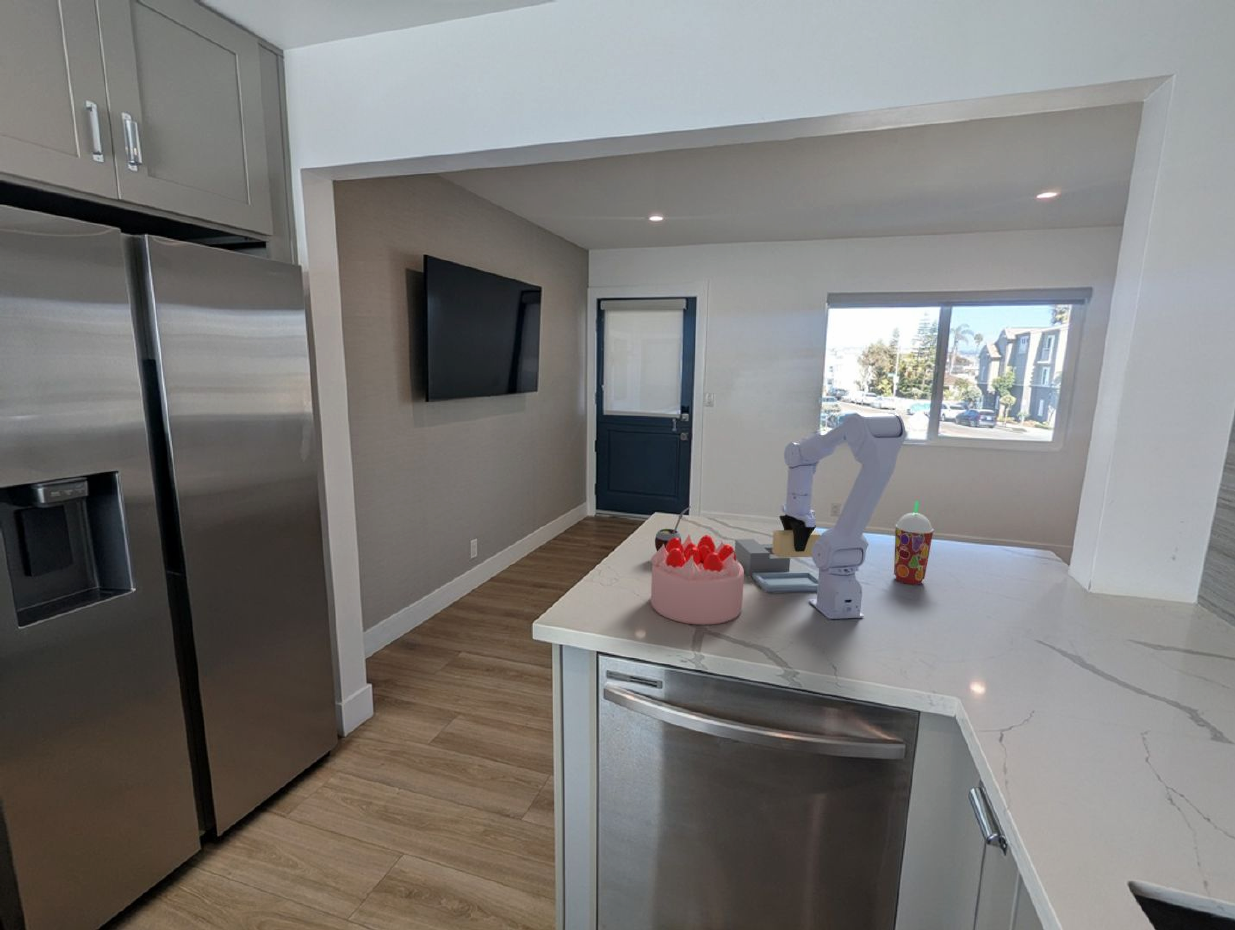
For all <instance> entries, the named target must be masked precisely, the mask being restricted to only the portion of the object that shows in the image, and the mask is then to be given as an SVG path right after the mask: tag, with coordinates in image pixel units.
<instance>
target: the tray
mask: <svg viewBox="0 0 1235 930" xmlns="http://www.w3.org/2000/svg"><path fill="white" fill-rule="evenodd" d="M818 578H819V576H817V575H816V574H815V573H813V571H811V570H810V571H809V570H806V571H805V570H804V571H802V570H801V571H789V572H771V573H753V576H752V580H753V582H755V583H756V584H757V585H758V586H759V587H760V588H761V590H762V591H764V593H765V594H785V593H787V594H788V593H789V594H790V593H811V592H813V593H814V592H815V593H816V592H817V590H818Z"/></svg>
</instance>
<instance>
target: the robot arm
mask: <svg viewBox="0 0 1235 930" xmlns="http://www.w3.org/2000/svg"><path fill="white" fill-rule="evenodd" d="M812 433H813V434H812V435H810V436H809V437H804V438H802V439H801V441H800V442H791V441H790V442H789V443H788V444H787V445H786V446H785V448H784V453H783V458H784V463H785V465H787V469H788V470H787V484H786V499H785V503H782V504H781V513H784V515H779V520H780V522H781V524H782V527H783V530H793V535H794V548H795V551H796V552H801V551H804V550H805V548H806V545H807V542H808V539H809V537H810V535H811V533H812V532H813V530H814V531H815V529H816V527H817V524H816V522H817V521H816V518H815V517H814V515H815V514H816V510H813V509H812V499H813V485H814V484H813V483H814V482H813V481H814V475H816V473H817V467H818V465H819V463H820V461H821V460H822V459H823V460H824V459H826V458H827V457H829V456H831V455H833V454H835V451H836V448H837V446H840V445H843V444H844V443H847V445H848V446H849V447H848V448H849V449H850V451H851V453H852V456H853V457H854V460H855V461H857V462H858V463H860V464H861V467H860V470H859V472H858V474H857V476H856V479H855V481H854V483H853V485H852V488H851V490H850V492H849V494H848V496H847V498H846V501H845V503H844V505H843V507H842V510H841V511H840V513H839V516H838V518H837V520H836V522H835V525H833V526H832V527H831V528H828V529H827V530H825V531H823V532H822V533H820V534H821V536H820V538H819V539H818V540H817V541H815V543H814V544H813V547H812V557H811V559H812V562H813V563H814V564H815V567H816V568H818V577H819V578H818V590H817V593H816V598H809V599H808V602H809V604H811V605H812V606H814V608H816V609H817V610H818V611H819V612H820V613H821V614H823V616H825V617H826V618H827V619H829V620H837V619H839V620H841V619H856V618H857V619H859V618H860V619H861V618H865V615H864V614H863V613H862V612H861V608H862V599H863V597H862V596H863V588H862V585H861V584H860V582H859V581H858V580H857V578H856V572H859V567H860V566H862V565H863V564H864V563H865V559H866V556H867V555H866V553H867V549H868V547H869V542H868V540H867V538H866V537H865V535H864V532H865V530H866V528H867V526H868V524H869V522H870V519H871V518H872V516H873V514H874V511H875V509H876V508H877V506H878V504H879V502H880V499H881V498H882V495H883V493H884V491H885V490H886V487H887V486H888V484H889V481H890V479H891V478H892V475H893V473H894V471H895V469H896V463H897V459H898V454H899V452H900V451H901V449H902V446H903V445H904V442H905V441H906V438H907V436H908V433H907V430H906V426H905V422H904V420H903V417H901V416H900V415H899V414H898V413H896V412H888V413H858V412H853V413H851V414H849V415H848V416H845V417H843V421H842V422H841V423H839V424H838V425H836V426H835V427H833V428H832V429H831V430H829V431H826V430H821V429H817V430H813V432H812Z"/></svg>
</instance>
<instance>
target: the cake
mask: <svg viewBox="0 0 1235 930" xmlns="http://www.w3.org/2000/svg"><path fill="white" fill-rule="evenodd" d="M719 541H720V542H721V543H720V544H719V546H717V548H716V544H715V542H714V539H713V538H712V537H711V536H710V535H708V534H705V535H702V536H701V538H700V539H699V541H698V543H697V545H696V544H695V543H693V540H692V539H691V535H690V534H688V535H687V537H686V538H685V540H684V542H683V543H682V540H681V541H680V540H679V539H678V538H676V537H673V538H671V539H670V540H669V542H668V544H667V545H666V548H665V546H664V544H663V546H662V547H661V548H660V549H659V550H658V551H657V550H656V552H655V553H654V555H652V557H650V559H649V560H650V563H651V564H652V565H651V593H650V594H651V596H650V602H651V606H652V608H653V610H654V611H655V612H656V613H658V614H659V615H660V616H662V617H664V618H666V619H669V620H671V621H675V622H678V623H683V624H688V625H700V626H702V625H703V626H712V625H718V624H724V623H728V622H729V621H733V620H734V619H736V618H738V616H739V615H740V614H741V612H742V611H743V610H742V609H743V598H744V584H745V583H744V581H745V580H744V577H745V572H744V569H743V567H742V565H741V564H740V563H739V562H738V560H737V557H736V554H735V548H734V547H733V546H732V545H730V544H726V543H725V542H723V540H721V539H720V540H719Z"/></svg>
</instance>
